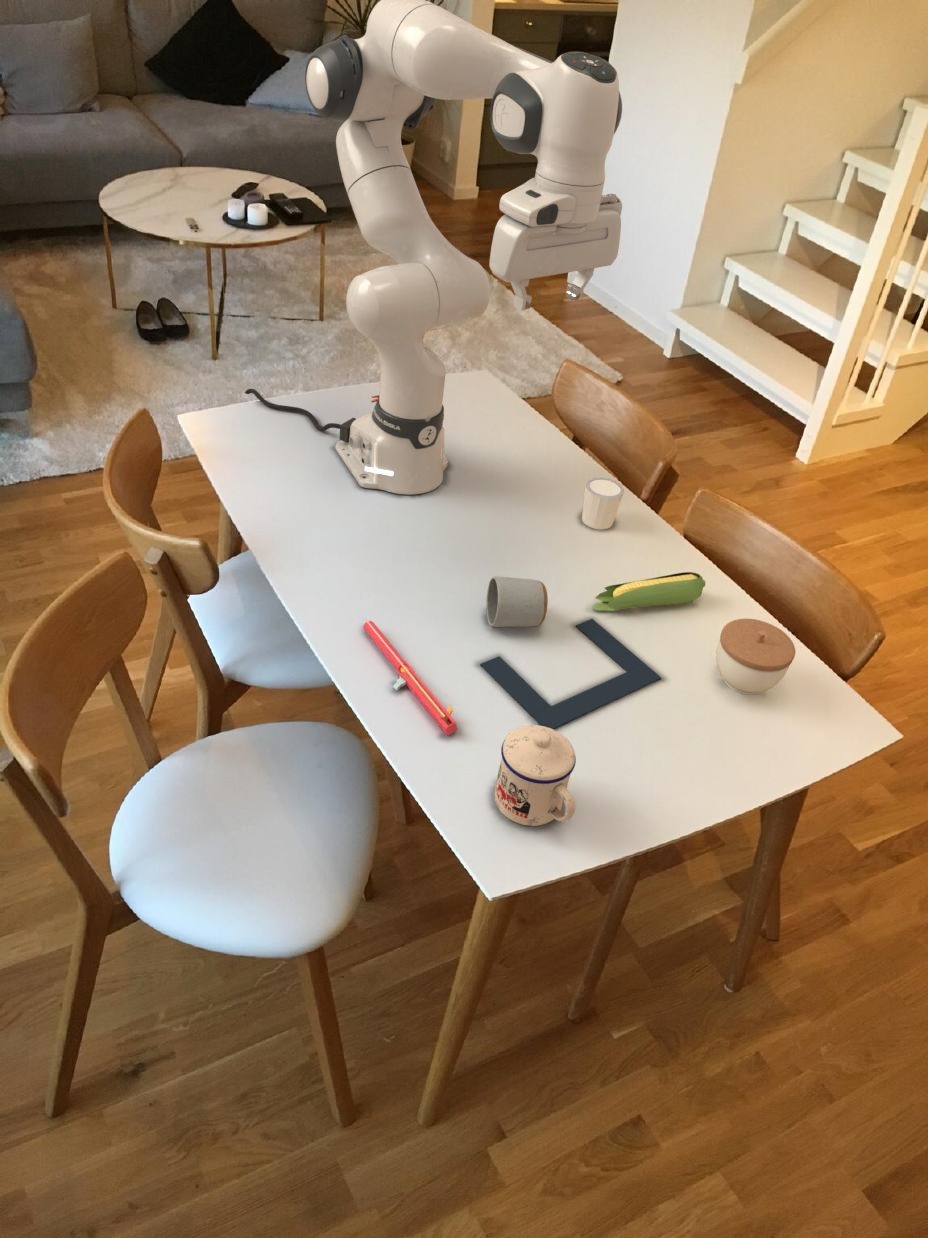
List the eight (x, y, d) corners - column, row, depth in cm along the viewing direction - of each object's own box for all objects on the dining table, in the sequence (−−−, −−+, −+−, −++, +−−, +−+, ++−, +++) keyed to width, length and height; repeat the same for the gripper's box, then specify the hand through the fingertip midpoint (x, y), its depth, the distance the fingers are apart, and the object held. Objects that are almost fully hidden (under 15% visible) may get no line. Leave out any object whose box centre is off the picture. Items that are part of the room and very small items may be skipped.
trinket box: (709, 698, 145) (727, 649, 139) (705, 651, 154) (722, 603, 148) (782, 711, 145) (804, 663, 139) (775, 663, 153) (794, 616, 147)
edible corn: (707, 605, 163) (714, 583, 160) (597, 620, 156) (603, 598, 154) (691, 586, 167) (698, 564, 164) (584, 600, 160) (589, 578, 157)
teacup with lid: (478, 789, 127) (490, 724, 119) (534, 763, 131) (549, 700, 124) (535, 857, 119) (551, 792, 112) (592, 827, 124) (612, 763, 117)
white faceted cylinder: (574, 524, 177) (581, 491, 173) (583, 506, 182) (590, 473, 178) (611, 535, 176) (620, 501, 171) (619, 516, 181) (627, 483, 177)
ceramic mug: (544, 636, 152) (553, 596, 147) (491, 637, 150) (498, 596, 146) (529, 594, 160) (537, 554, 155) (479, 594, 158) (485, 554, 154)
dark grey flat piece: (480, 665, 145) (480, 663, 145) (591, 619, 156) (592, 618, 156) (547, 732, 136) (547, 730, 136) (661, 679, 147) (661, 677, 147)
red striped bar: (436, 744, 133) (465, 726, 134) (433, 735, 131) (462, 717, 133) (352, 637, 148) (379, 622, 149) (349, 628, 146) (376, 613, 147)
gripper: (607, 184, 136) (588, 284, 144) (490, 197, 125) (476, 304, 134) (640, 199, 132) (618, 301, 141) (521, 214, 121) (505, 323, 130)
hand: (548, 303), depth 137 cm, fingers open, 8 cm apart
